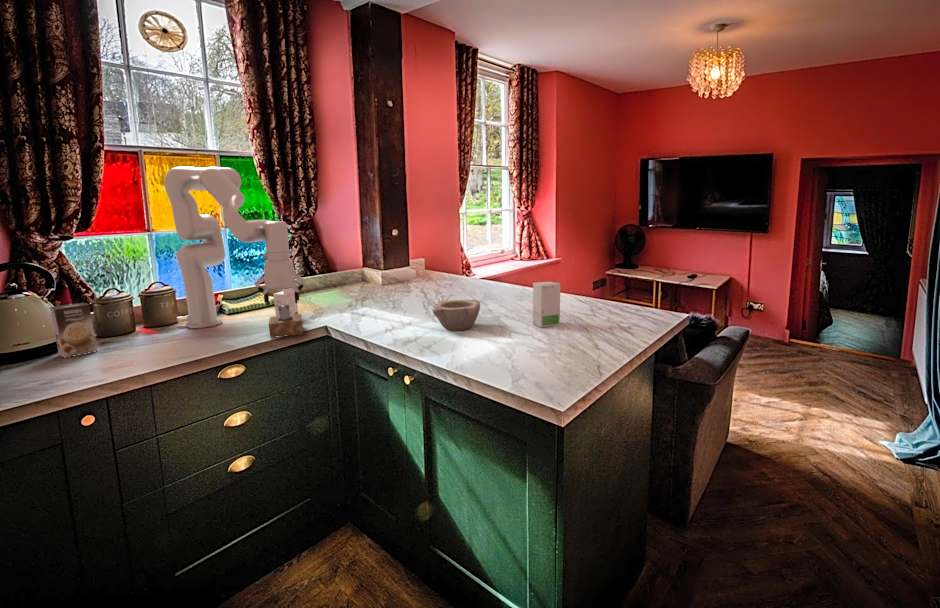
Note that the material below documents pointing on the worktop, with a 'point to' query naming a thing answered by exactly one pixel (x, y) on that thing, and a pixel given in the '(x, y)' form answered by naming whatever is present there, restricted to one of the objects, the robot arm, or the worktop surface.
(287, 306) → the peg
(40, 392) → the worktop surface
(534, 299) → the skincare box
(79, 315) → the coffee box
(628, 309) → the worktop surface
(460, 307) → the mortar
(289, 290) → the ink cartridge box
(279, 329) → the socket block
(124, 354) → the worktop surface
